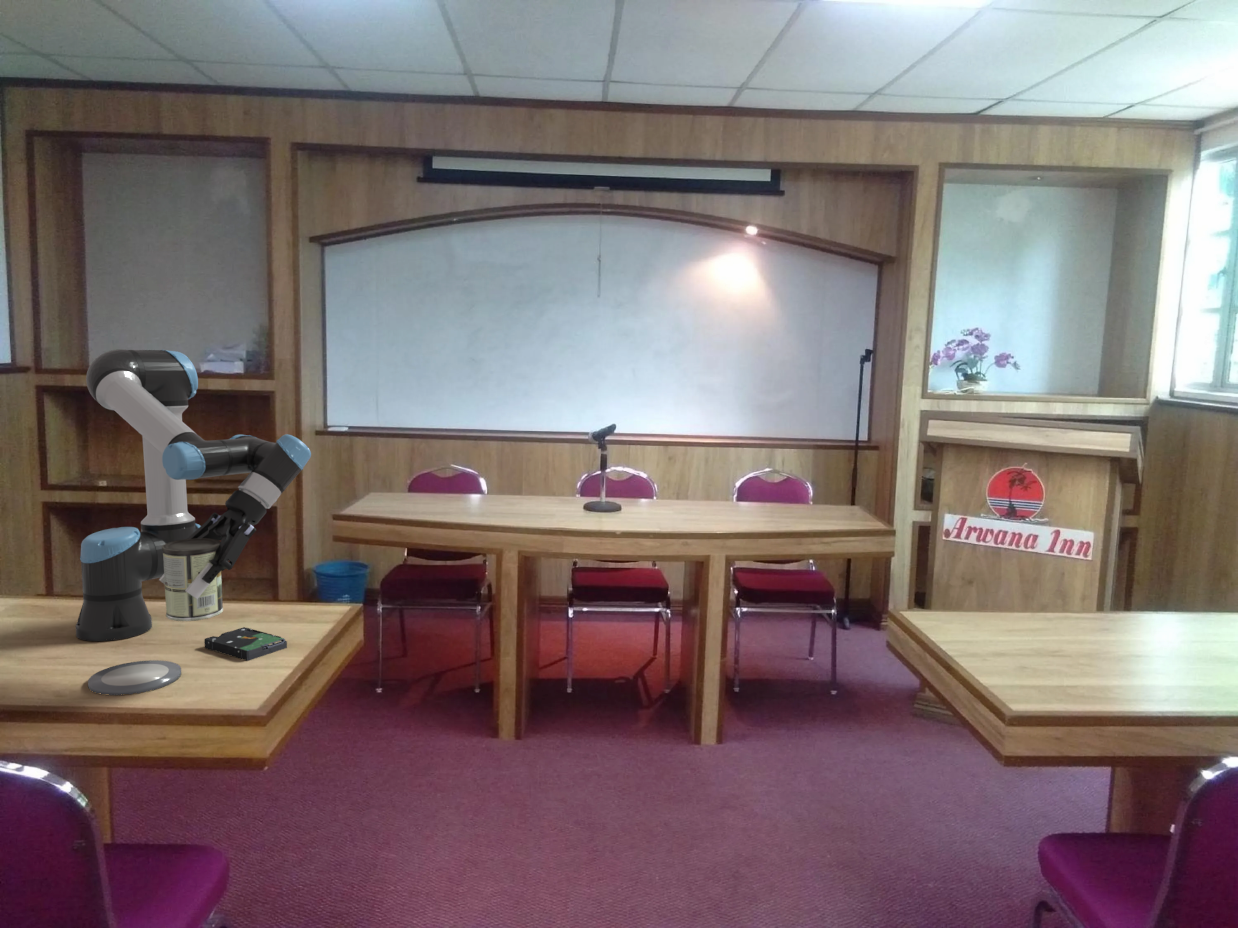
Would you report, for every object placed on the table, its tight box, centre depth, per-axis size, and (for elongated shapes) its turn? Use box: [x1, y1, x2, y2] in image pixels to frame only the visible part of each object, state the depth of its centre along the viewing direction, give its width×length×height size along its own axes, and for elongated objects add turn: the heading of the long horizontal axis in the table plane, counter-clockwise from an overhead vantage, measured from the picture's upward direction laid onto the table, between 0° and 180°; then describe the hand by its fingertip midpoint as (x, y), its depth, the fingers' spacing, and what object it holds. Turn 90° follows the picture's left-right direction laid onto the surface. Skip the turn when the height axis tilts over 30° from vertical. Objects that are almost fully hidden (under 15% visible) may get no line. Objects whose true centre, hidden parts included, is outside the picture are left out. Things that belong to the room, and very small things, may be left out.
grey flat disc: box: [87, 659, 182, 696], centre depth 168 cm, size 16×16×1 cm
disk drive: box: [204, 626, 288, 662], centre depth 187 cm, size 10×3×15 cm
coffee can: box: [162, 538, 224, 622], centre depth 167 cm, size 10×10×14 cm
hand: (177, 589), depth 165 cm, fingers closed on coffee can, 10 cm apart
